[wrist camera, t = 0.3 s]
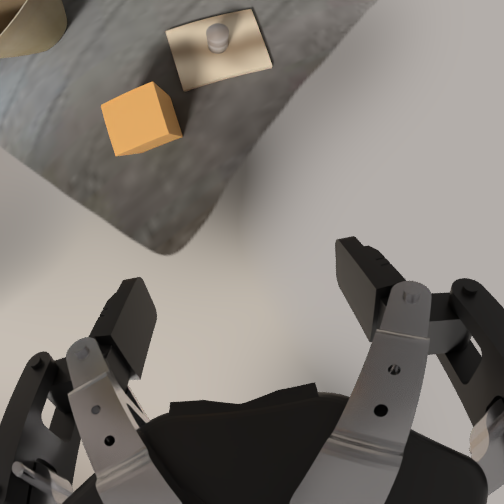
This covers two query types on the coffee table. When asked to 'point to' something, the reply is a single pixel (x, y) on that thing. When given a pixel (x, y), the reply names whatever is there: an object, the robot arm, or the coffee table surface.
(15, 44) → the plant pot
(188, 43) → the flat beige base block
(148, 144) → the tall orange pillar
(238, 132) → the coffee table surface
